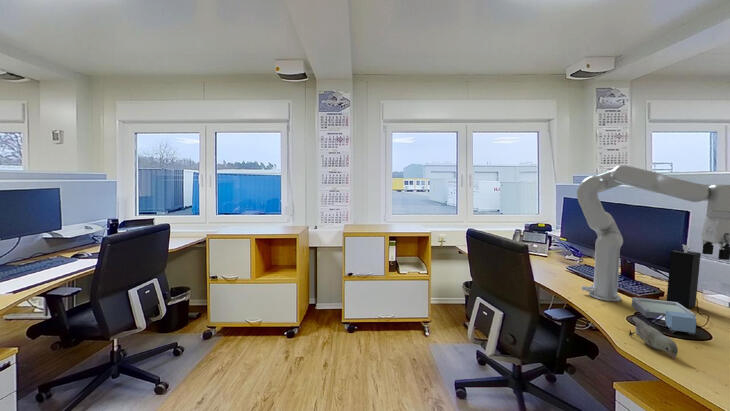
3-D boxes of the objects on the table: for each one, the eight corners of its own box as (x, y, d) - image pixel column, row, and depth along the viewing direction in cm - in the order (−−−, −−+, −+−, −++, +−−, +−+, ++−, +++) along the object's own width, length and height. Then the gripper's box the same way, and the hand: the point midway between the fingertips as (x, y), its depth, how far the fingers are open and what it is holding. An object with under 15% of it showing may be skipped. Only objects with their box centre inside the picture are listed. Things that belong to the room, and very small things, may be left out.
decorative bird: (667, 360, 105) (669, 337, 104) (625, 336, 121) (626, 316, 120) (683, 360, 105) (685, 337, 105) (639, 336, 121) (640, 316, 121)
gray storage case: (669, 332, 124) (671, 315, 123) (663, 327, 128) (664, 310, 128) (695, 336, 121) (697, 318, 120) (688, 330, 125) (690, 313, 125)
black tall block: (688, 309, 146) (694, 247, 144) (665, 303, 153) (671, 244, 151) (695, 306, 150) (701, 245, 148) (673, 300, 157) (678, 242, 155)
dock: (644, 318, 136) (645, 308, 136) (631, 306, 149) (632, 297, 149) (694, 324, 131) (695, 314, 130) (676, 311, 144) (677, 302, 143)
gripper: (694, 212, 142) (690, 251, 143) (722, 217, 125) (718, 260, 127) (717, 213, 139) (712, 252, 141) (748, 218, 123) (743, 262, 124)
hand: (715, 256), depth 134 cm, fingers open, 9 cm apart
